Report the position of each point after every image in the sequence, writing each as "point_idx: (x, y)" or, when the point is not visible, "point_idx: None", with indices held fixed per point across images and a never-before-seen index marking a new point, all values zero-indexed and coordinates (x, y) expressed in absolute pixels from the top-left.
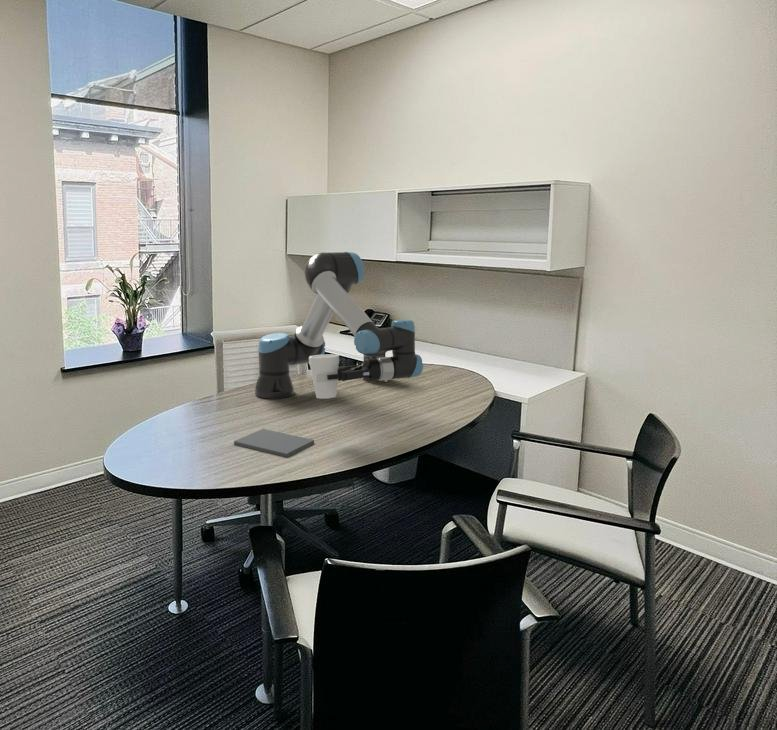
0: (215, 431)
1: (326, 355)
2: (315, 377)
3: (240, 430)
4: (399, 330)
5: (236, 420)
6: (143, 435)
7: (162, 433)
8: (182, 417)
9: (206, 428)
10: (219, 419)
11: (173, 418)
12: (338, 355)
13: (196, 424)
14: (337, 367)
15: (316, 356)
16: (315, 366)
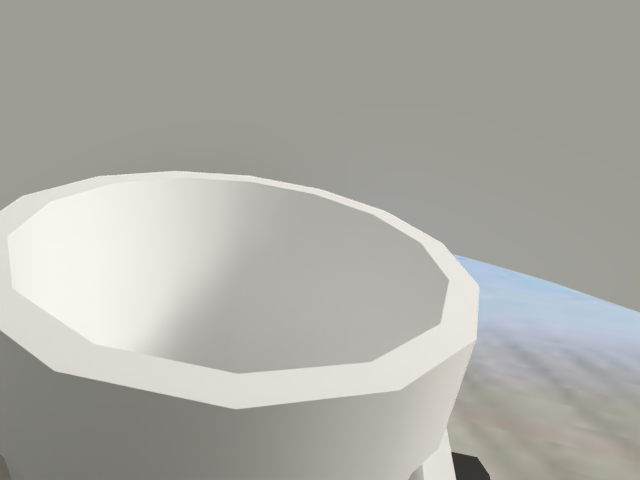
0: (477, 368)
1: (428, 343)
2: (207, 365)
3: (474, 423)
4: None
5: (610, 445)
6: (473, 274)
7: (481, 294)
8: (630, 339)
9: (512, 359)
10: (619, 405)
11: (617, 325)
12: (8, 332)
13: (556, 349)
14: (12, 474)
15: (422, 265)
16: (189, 262)
